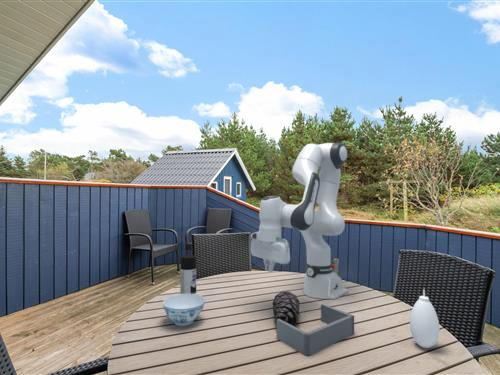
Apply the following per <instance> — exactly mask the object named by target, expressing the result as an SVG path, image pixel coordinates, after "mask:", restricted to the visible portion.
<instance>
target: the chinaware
mask: <svg viewBox="0 0 500 375" xmlns="http://www.w3.org/2000/svg"><path fill="white" fill-rule="evenodd" d="M205 303H206V298H205V297H204V296H203V295H200V294H197V293H196V294H180V293H179V294H174V295H171V296H169V297H167V298H165V299H163V301H162V306H163V310H164V312H165V314H166V316H167V317H168V318H169V319H170V320H171V321H173V323H174V324H175V325H176V326H180V327H185V326H190V325H191V324H193V323H194V320H195V319H197V318H199V316H200V314H201V313H202V311H203V309H204V306H205Z"/></svg>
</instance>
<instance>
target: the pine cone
mask: <svg viewBox="0 0 500 375" xmlns="http://www.w3.org/2000/svg"><path fill="white" fill-rule="evenodd" d="M300 304H301V303H300V300H299V298H298V297H297V296H296V294H294V293H292V292H290V291H289V290H288V291H280V292H279V293H277V294H276V295H275V296H274V299H273V301H272V310H273V317H274V322H275V326H276V327H277V319H281V320H283V321H285V322H287V323H289V324H290V325H292V326H294V327H296V325H297V322H298V318H299V316H300Z"/></svg>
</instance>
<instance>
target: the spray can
mask: <svg viewBox="0 0 500 375" xmlns="http://www.w3.org/2000/svg"><path fill="white" fill-rule="evenodd" d="M179 270H180V273H179V274H180V276H179V277H180V290H179V292H180V293H179V294H197V255H192V254H184V255H181V256H180V269H179Z"/></svg>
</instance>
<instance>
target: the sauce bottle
mask: <svg viewBox="0 0 500 375" xmlns="http://www.w3.org/2000/svg"><path fill="white" fill-rule="evenodd" d="M422 291H423V292H422V295H419V297H418V298H419V299H418V300H417V301H416V302H415V303H414V305H413V307H412V309H411V313H410V318H409V329H410V332H411V335H412V338H413V340H414V341H415V343H417V345H418V346H420V347H422V348H423V349H430V348H431V347H434V346H435V345H436V343H437V342H438V340H439V336H440V322H439V317H438V315H437V312H436V309H435V307H434V305H433V304H432V302H431V301H430V298H429V297H428V296H426V291H425V288H423V290H422Z"/></svg>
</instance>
